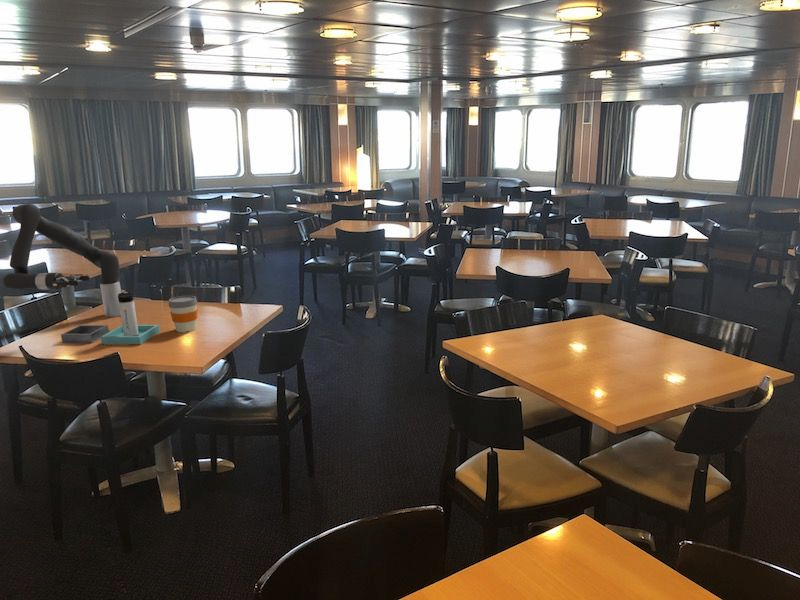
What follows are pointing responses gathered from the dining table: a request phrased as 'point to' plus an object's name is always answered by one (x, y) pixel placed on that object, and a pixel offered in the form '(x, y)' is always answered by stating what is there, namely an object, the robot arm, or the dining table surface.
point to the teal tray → (119, 339)
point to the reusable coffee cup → (183, 312)
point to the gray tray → (84, 334)
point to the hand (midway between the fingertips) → (83, 280)
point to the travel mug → (128, 314)
